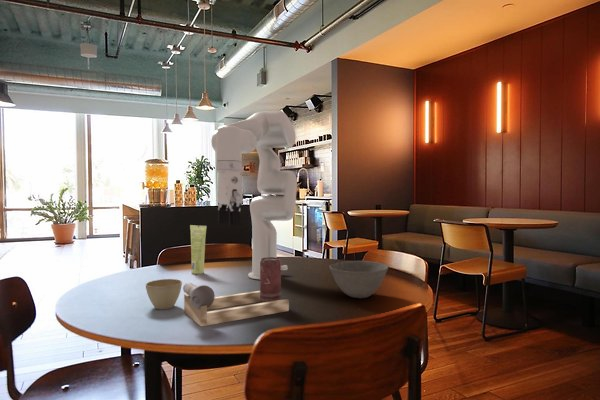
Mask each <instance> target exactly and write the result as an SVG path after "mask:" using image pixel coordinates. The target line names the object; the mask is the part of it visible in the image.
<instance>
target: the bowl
mask: <svg viewBox="0 0 600 400" xmlns="http://www.w3.org/2000/svg"><path fill="white" fill-rule="evenodd" d="M328 268H329V269H330V272H331V274H332V276H333V279H334V281H335V283H336V285H337V286H338V288H339V289H340V290H341V292H343V293H344V294H345V295H347V296H348V297H351V298H353V299H365V298H369V297H370V296H372V295H373V294H374V293H376V291H377V290H378V289H379V287H380V286H381V284H382V283H383V281H384V278H385V276H386V275H387V272H388V270H389V266H388V265H387V264H385V263H381V262H377V261H369V260H346V261H339V262H335V263H331V264H330V265H329V267H328Z"/></svg>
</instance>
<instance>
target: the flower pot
mask: <svg viewBox="0 0 600 400" xmlns="http://www.w3.org/2000/svg"><path fill="white" fill-rule="evenodd" d="M182 285H183V281H182V280H181V279H178V278H177V279H176V278H163V279H156V280H151V281H148V282H146V283H145V289H146V293H147V296H148V299H149V301H150V303H151V305H152V306H153V307H154V308H155V309H156V310H168V309H173V308H174V306H175V304H176V303H177V300H178V299H179V296H180V294H181V290H182Z"/></svg>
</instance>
